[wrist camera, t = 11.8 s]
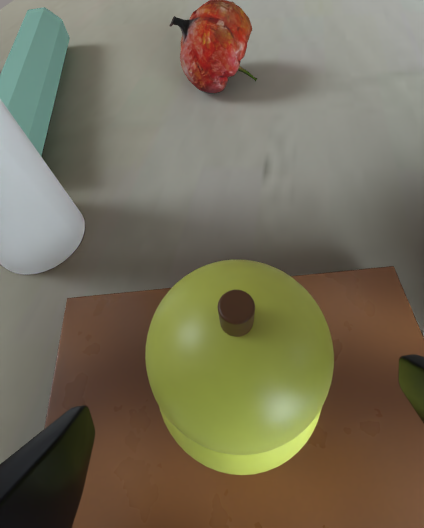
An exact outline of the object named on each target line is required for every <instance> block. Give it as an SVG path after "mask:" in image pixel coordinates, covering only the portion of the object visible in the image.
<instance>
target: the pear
mask: <svg viewBox="0 0 424 528" xmlns="http://www.w3.org/2000/svg"><path fill="white" fill-rule="evenodd" d="M145 360H146V370H147V375H148V379H149V383H150V387H151V389H152V392H153V395H154V397H155V399H156V401H157V403H158V405H159V408H160V412H161V414H162V417H163V420H164V422H165V424H166V426H167V428H168V430H169V432H170V434H171V435H172V437H173V438H174V439H175V441H176V442H177V443H178V445H179V446H180V447H181V448H182V449H183V450H184V451H185V452H186V453H187V454H188V455H190V456H191V457H192V458H193V459H195V460H196V461H198V462H199V463H201V464H203V465H205V466H206V467H209V468H211V469H214V470H216V471H219V472H223V473H227V474H235V475H250V474H257V473H262V472H266V471H269V470H271V469H273V468H276V467H278V466H280V465H282V464H283V463H285V462H286V461H288V460H289V459H291V458H292V457H293V456H294V455H295V454H296V453H298V452H299V451H300V449H301V448H302V447H303V446H304V445H305V444H306V442H307V441H308V439H309V438H310V436H311V435H312V433H313V431H314V429H315V427H316V424H317V422H318V419H319V416H320V412H321V409H322V406H323V404H324V402H325V400H326V397H327V395H328V392H329V388H330V385H331V381H332V376H333V369H334V351H333V343H332V338H331V334H330V331H329V327H328V325H327V322H326V320H325V317H324V315H323V313H322V311H321V309H320V308H319V306H318V304H317V303H316V301H315V300H314V299H313V297H312V296H311V295H310V294H309V292H308V291H307V290H306V289H305V288H304V287H303V286H302V285H301V284H299V283H298V282H297V281H296V280H295V279H293V278H292V277H290V276H289V275H287V274H286V273H284V272H283V271H281V270H279V269H277V268H275V267H272V266H270V265H267V264H264V263H260V262H256V261H250V260H224V261H219V262H215V263H211V264H208V265H205V266H203V267H201V268H199V269H196V270H194V271H193V272H191V273H190V274H188V275H186V276H185V277H184V278H182V279H181V280H180V281H179V282H177V283H176V284H175V285H174V286H173V287H172V288H171V289H170V290H169V291H168V293H167V294H166V295H165V297H164V298H163V299H162V301H161V302H160V304H159V306H158V307H157V309H156V311H155V314H154V316H153V318H152V321H151V324H150V327H149V331H148V335H147V341H146V353H145Z"/></svg>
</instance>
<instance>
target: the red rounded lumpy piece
mask: <svg viewBox="0 0 424 528" xmlns="http://www.w3.org/2000/svg"><path fill="white" fill-rule="evenodd" d="M173 24H174V25H178V26H179V27H180V28H181V31H182V34H183V35H182V39H181V53H180V60H181V66H182V68H183V71H184V73H185V75H186V76H187V78H188V80H189V81H190V82H191V83H192V84H193V85H195V86H196V87H197V88H198V89H199V90H201V91H204V92H208V93H217V92H220V91H223V90H224V88H225V86H226V84H227V82H228V77H231V76H234V75H235V73H236V72H237V70H239V71H241V72H243V73H245V74H247V75H248V76H250V77H251V78H253V79H254V80H255V81H256V80H257V78H255V77H253V76H252V75H251V74H250V73H249V72H247V71H246V70H244V69H243V68H241V67H240V60H241V59H242V58H243V57H244V55H245V52H246V48H247V42H248V40H249V36H250V34H251V31H252V26H251V23H250V20H249V18H248V16H247V15H246V14H245V13H244V11H243V10H242V9H241V8H240V7H239V6H237V5H236V4H234V2H229V1H225V0H210V1H208V2H206V3H205V4H203V5H202V6H201V7H200V8H198V9H197V10H196V11H195V12H193V14H192V15H191V17H190V19H189V20H183V19H180V18H176V17H175V16H174V17H173V19H172V22H171V24H170V26H172V25H173Z"/></svg>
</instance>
